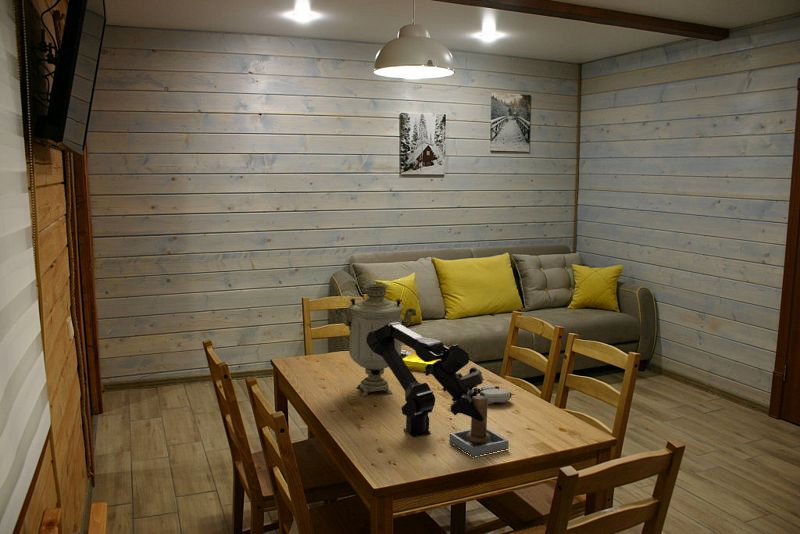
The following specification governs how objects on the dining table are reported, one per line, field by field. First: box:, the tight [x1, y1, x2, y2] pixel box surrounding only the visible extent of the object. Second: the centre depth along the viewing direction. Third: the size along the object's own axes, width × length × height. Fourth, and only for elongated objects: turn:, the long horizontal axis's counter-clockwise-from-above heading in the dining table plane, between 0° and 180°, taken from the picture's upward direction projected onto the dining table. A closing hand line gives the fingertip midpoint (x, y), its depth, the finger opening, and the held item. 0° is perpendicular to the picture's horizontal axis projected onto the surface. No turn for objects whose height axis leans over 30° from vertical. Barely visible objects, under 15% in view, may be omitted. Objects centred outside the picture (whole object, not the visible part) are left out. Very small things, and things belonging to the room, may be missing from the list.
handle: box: [467, 395, 490, 445], centre depth 199 cm, size 7×7×13 cm
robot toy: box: [473, 384, 516, 405], centre depth 243 cm, size 12×4×15 cm
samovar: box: [335, 283, 417, 397], centre depth 251 cm, size 30×26×40 cm
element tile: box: [402, 351, 441, 373], centre depth 284 cm, size 15×15×5 cm
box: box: [449, 428, 510, 458], centre depth 200 cm, size 13×13×3 cm
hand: (483, 417), depth 199 cm, fingers closed on handle, 5 cm apart
